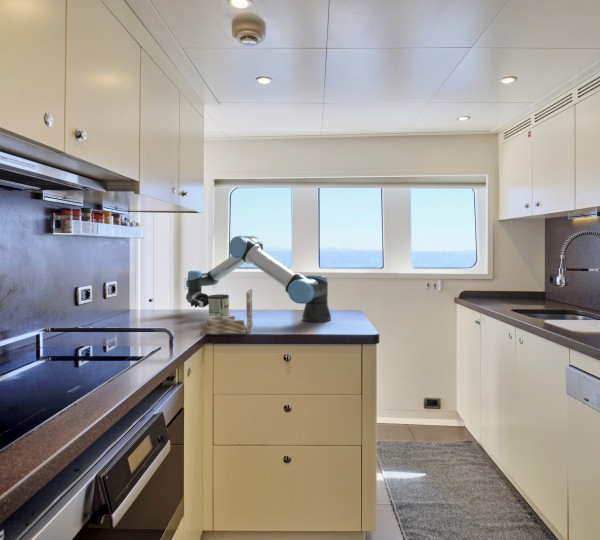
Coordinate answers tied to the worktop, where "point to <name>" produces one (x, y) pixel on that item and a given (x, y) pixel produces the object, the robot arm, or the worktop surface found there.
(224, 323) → the offcut stack
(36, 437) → the worktop surface
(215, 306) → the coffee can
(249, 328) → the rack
